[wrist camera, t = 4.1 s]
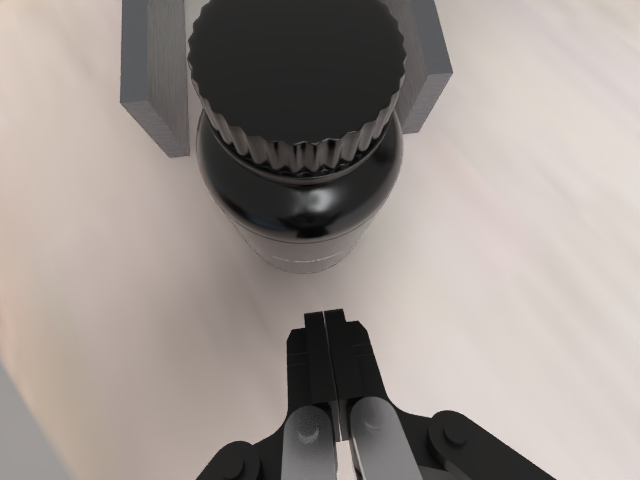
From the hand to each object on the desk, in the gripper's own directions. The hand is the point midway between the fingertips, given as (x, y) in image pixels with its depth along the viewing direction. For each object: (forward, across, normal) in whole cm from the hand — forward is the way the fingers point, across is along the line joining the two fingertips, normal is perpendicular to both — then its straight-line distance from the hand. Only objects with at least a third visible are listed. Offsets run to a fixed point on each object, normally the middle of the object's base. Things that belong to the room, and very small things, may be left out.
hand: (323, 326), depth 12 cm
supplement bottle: (+8, 0, -1) cm, 8 cm away
